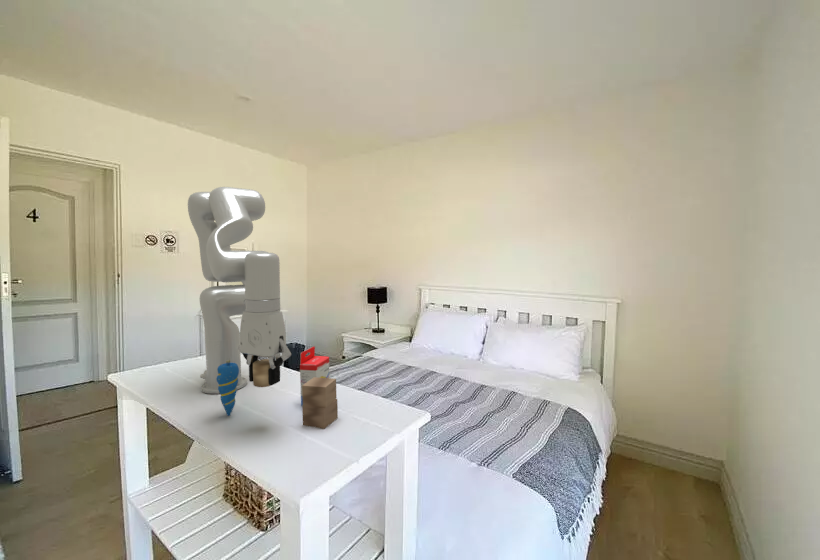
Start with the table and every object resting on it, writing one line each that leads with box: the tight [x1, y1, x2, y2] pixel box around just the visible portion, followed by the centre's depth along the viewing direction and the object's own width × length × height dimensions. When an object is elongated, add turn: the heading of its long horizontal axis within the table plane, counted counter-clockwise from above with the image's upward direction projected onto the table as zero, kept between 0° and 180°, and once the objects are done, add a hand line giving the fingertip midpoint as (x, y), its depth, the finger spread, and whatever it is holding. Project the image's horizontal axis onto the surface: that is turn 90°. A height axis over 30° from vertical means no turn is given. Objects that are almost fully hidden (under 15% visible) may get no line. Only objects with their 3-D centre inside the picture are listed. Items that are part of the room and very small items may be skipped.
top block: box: [302, 377, 337, 408], centre depth 88 cm, size 6×6×5 cm
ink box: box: [299, 345, 330, 407], centre depth 100 cm, size 8×5×15 cm, turn 168°
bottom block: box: [301, 398, 339, 430], centre depth 88 cm, size 6×6×5 cm
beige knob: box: [252, 358, 271, 388], centre depth 85 cm, size 5×5×5 cm
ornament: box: [217, 358, 239, 417], centre depth 91 cm, size 5×5×15 cm
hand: (264, 380), depth 85 cm, fingers closed on beige knob, 5 cm apart
